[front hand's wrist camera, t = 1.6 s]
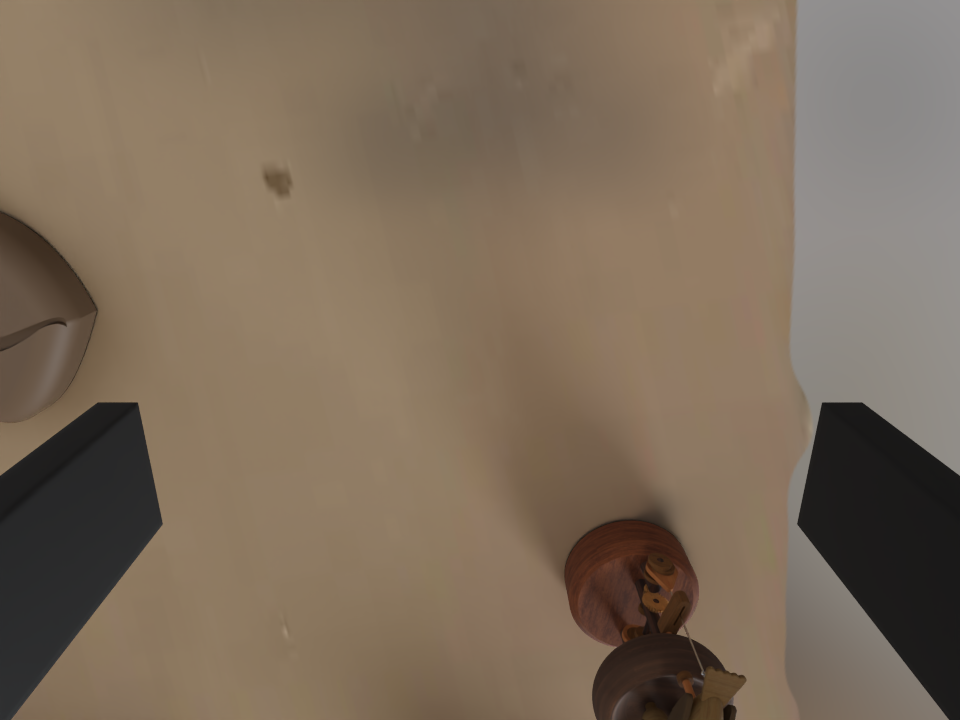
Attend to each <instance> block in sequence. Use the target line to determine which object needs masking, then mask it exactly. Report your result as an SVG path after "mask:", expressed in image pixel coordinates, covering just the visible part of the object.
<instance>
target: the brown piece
mask: <svg viewBox="0 0 960 720" xmlns="http://www.w3.org/2000/svg"><path fill="white" fill-rule="evenodd" d="M565 583H566V589H567V594H568V600H569V605H570V610H571V613H572V616H573V618H574V620H575V622H576V623H577V625H578V626H579V627H580V628H581V630H582V631H583V632H584V633H586V634H587V635H588V636H589V637H591V638H593V639H594V640H596V641H598V642H600V643H603V644H605V645H609V646H613V647H617V648H616V649H614V650H613V651H612V652H611V653H610V654H609V655H608V656H607V657H606V659H605V660H604V661H603V663H602V664H601V666H600V667H599V669H598V672H597V674H596V677H595V680H594V684H593V690H592V702H593V708H594V713H595V716H596V719H597V720H735V717H736V712H737V710H736V707H735V706H733V696H734V695H735V694H736V693H737V692H738V691H739V689H740V688H741V687H742V686H743V685H744V684H745V683H746V678H745V676H743V675H739V676H738V675H737V674H736V673H729V671H726V670H725V668H724V667H723V665H722V663H721V662H720V661H719V659H718V658H717V657H716V656H715V655H714V654H713V653H712V652H711V651H710V650H708V649H707V648H706V647H705V646H703V645H702V644H700V643H698V642H696V641H694V640H692V639H691V638H690V636H689V633H688V631H687V628H686V626H685V624H686V623H687V622H688V621H689V619H690V618H691V616H692V615H693V613H694V611H695V608H696V606H697V602H698V597H699V585H698V580H697V577H696V575H695V572H694V570H693V568H692V566H691V564H690V562H689V560H688V558H687V556H686V554H685V551H684V549H683V547H682V546H681V544H680V543H679V541H678V540H677V539H676V538H675V537H674V536H673V535H672V534H670V533H669V532H668V531H666V530H665V529H663V528H661V527H659V526H657V525H654V524H651V523H647V522H642V521H619V522H614V523H610V524H607V525H604V526H602V527H599V528H597V529H595V530H594V531H592V532H590V533H589V534H587V535H586V536H585V537H584V538H582V539H581V540H580V541H579V542H578V544H577V545H576V546H575V547H574V549H573V550H572V552H571V553H570V555H569V558H568V560H567V563H566V567H565ZM683 626H684V628H685V631H686V633H687V636H688V638H687V637H684V636H681V635H676V634H677V632H678V631H679V630H680V629H681V628H682V627H683Z"/></svg>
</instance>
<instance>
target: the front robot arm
mask: <svg viewBox="0 0 960 720" xmlns="http://www.w3.org/2000/svg"><path fill="white" fill-rule="evenodd" d="M162 524H163V523H162V518H161V513H160V508H159V503H158V499H157V494H156V489H155V484H154V479H153V474H152V469H151V464H150V460H149V455H148V450H147V445H146V440H145V435H144V430H143V425H142V421H141V416H140V411H139V406H138V403H97V404H95V405H94V406H93V407H91V408H90V409H89V410H87V411H86V412H85V413H83V414H82V415H81V416H79V417H78V418H77V419H75V420H74V421H73V422H71V423H70V424H69V425H67V426H66V427H65V428H63V429H62V430H61V431H59V432H58V433H57V434H55V435H54V436H53V437H51V438H50V439H49V440H47V441H46V442H45V443H43V444H42V445H41V446H39V447H38V448H37V449H35V450H34V451H33V452H31V453H30V454H29V455H27V456H26V457H25V458H23V459H22V460H21V461H19V462H18V463H17V464H15V465H14V466H13V467H11V468H10V469H9V470H7V471H6V472H5V473H3V474H2V475H1V476H0V720H11V719H12V718H13V716H14V715H15V714H16V712H17V711H18V710H19V709H20V707H21V706H22V705H23V703H24V702H25V701H26V700H27V698H28V697H29V696H30V694H31V693H32V692H33V691H34V689H35V688H36V687H37V685H38V684H39V683H40V682H41V680H42V679H43V678H44V676H45V675H46V674H47V673H48V671H49V670H50V669H51V667H52V666H53V665H54V663H55V662H56V661H57V660H58V658H59V657H60V656H61V654H62V653H63V652H64V651H65V649H66V648H67V647H68V645H69V644H70V643H71V642H72V640H73V639H74V638H75V636H76V635H77V634H78V633H79V631H80V630H81V629H82V627H83V626H84V625H85V624H86V622H87V621H88V620H89V618H90V617H91V616H92V615H93V613H94V612H95V611H96V609H97V608H98V607H99V606H100V604H101V603H102V602H103V600H104V599H105V598H106V597H107V595H108V594H109V593H110V591H111V590H112V589H113V588H114V586H115V585H116V584H117V582H118V581H119V580H120V579H121V577H122V576H123V575H124V573H125V572H126V571H127V570H128V568H129V567H130V566H131V564H132V563H133V562H134V560H135V559H136V558H137V557H138V555H139V554H140V553H141V551H142V550H143V549H144V548H145V546H146V545H147V544H148V542H149V541H150V540H151V539H152V537H153V536H154V535H155V533H156V532H157V531H158V530H159V528H160V527H161V526H162ZM797 524H798V526H799V527H800V528H801V530H802V531H803V532H804V533H805V535H806V536H807V537H808V539H809V540H810V541H811V542H812V544H813V545H814V546H815V548H816V549H817V550H818V551H819V553H820V554H821V555H822V557H823V558H824V559H825V560H826V562H827V563H828V564H829V566H830V567H831V568H832V569H833V571H834V572H835V573H836V575H837V576H838V577H839V578H840V580H841V581H842V582H843V584H844V585H845V586H846V588H847V589H848V590H849V591H850V593H851V594H852V595H853V597H854V598H855V599H856V600H857V602H858V603H859V604H860V606H861V607H862V608H863V609H864V611H865V612H866V613H867V615H868V616H869V617H870V618H871V620H872V621H873V622H874V624H875V625H876V626H877V627H878V629H879V630H880V631H881V633H882V634H883V635H884V636H885V638H886V639H887V640H888V642H889V643H890V644H891V645H892V647H893V648H894V649H895V651H896V652H897V653H898V654H899V656H900V657H901V658H902V660H903V661H904V662H905V663H906V665H907V666H908V667H909V669H910V670H911V671H912V672H913V674H914V675H915V676H916V678H917V679H918V680H919V681H920V683H921V684H922V685H923V687H924V688H925V689H926V690H927V692H928V693H929V694H930V696H931V697H932V698H933V700H934V701H935V702H936V703H937V705H938V706H939V707H940V708H941V710H942V711H943V712H944V714H945V715H946V716H947V718H948V719H949V720H960V476H959V475H958V474H957V473H955V472H954V471H953V470H951V469H950V468H949V467H947V466H946V465H945V464H943V463H942V462H941V461H939V460H938V459H937V458H935V457H934V456H933V455H931V454H930V453H929V452H927V451H926V450H925V449H923V448H922V447H921V446H919V445H918V444H917V443H915V442H914V441H913V440H911V439H910V438H909V437H907V436H906V435H905V434H903V433H902V432H901V431H899V430H898V429H897V428H895V427H894V426H893V425H891V424H890V423H889V422H887V421H886V420H885V419H883V418H882V417H881V416H879V415H878V414H877V413H875V412H874V411H873V410H871V409H870V408H869V407H867V406H866V405H865V404H863V403H822V406H821V411H820V416H819V421H818V425H817V431H816V435H815V440H814V445H813V450H812V455H811V460H810V464H809V469H808V474H807V479H806V484H805V489H804V494H803V499H802V503H801V508H800V513H799V518H798V523H797Z"/></svg>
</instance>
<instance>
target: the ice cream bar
mask: <svg viewBox="0 0 960 720" xmlns="http://www.w3.org/2000/svg"><path fill="white" fill-rule="evenodd" d="M96 312H97V310H96V308H95V306H94V304H93V303H92V301H91V299H90V297H89V296H88V294H87V292H86V291H85V289H84V287H83V286H82V284H81V283H80V281H79V280H78V278H77V277H76V276H75V274H74V273H73V272H72V270H71V269H70V268H69V266H68V265H67V264H66V263H65V261H64V260H63V259H62V258H61V257H60V256H59V255H58V254H57V252H56V251H55V250H54V249H53V248H52V247H51V246H50V245H49V244H48V243H46V242H45V241H44V240H43V239H42V238H41V237H40V236H38V235H37V234H36V233H35V232H33V231H32V230H31V229H29V228H28V227H26V226H25V225H23V224H22V223H20V222H18V221H17V220H15V219H13V218H11V217H9V216H7V215H5V214H3V213H0V422H4V423H15V422H21V421H24V420H27V419H29V418H31V417H33V416H35V415H36V414H38V413H39V412H41V411H43V410H44V409H46V408H47V407H49V406H50V405H52V404H53V403H54V402H56V401H57V400H58V399H59V398H60V397H61V396H62V394H63V393H64V392H65V391H66V389H67V388H68V386H69V385H70V383H71V381H72V380H73V378H74V376H75V374H76V372H77V370H78V367H79V365H80V363H81V360H82V358H83V355H84V353H85V350H86V347H87V344H88V341H89V337H90V334H91V331H92V327H93V323H94V320H95V316H96Z"/></svg>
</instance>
